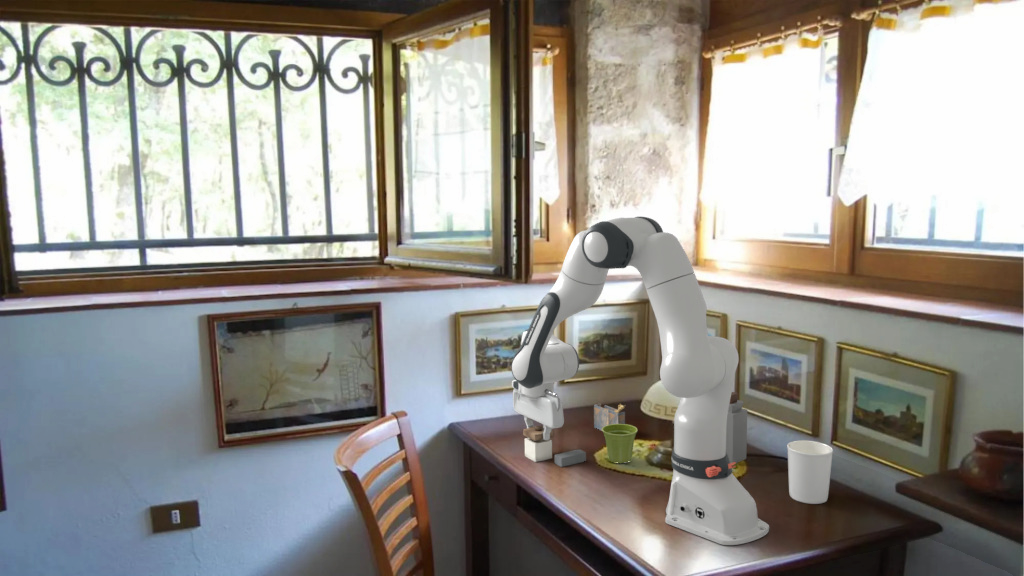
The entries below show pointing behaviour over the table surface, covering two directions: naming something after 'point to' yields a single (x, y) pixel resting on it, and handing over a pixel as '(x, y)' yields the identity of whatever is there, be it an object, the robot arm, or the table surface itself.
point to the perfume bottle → (736, 430)
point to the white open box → (538, 449)
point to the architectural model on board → (608, 416)
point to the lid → (535, 433)
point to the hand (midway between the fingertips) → (538, 435)
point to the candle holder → (809, 471)
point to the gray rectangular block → (570, 458)
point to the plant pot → (619, 441)
